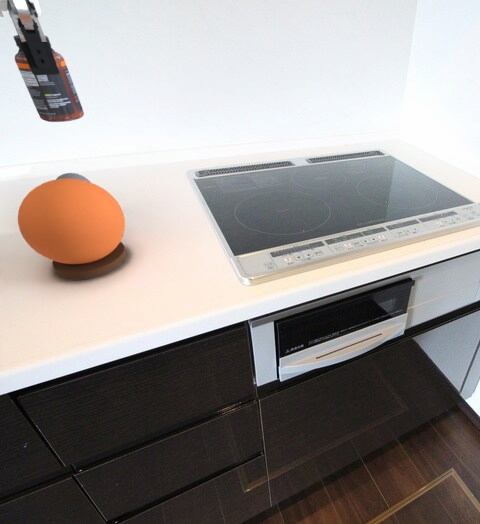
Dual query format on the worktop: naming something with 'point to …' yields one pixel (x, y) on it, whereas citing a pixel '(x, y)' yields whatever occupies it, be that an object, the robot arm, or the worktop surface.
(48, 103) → the supplement bottle
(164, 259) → the worktop surface
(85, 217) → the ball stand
